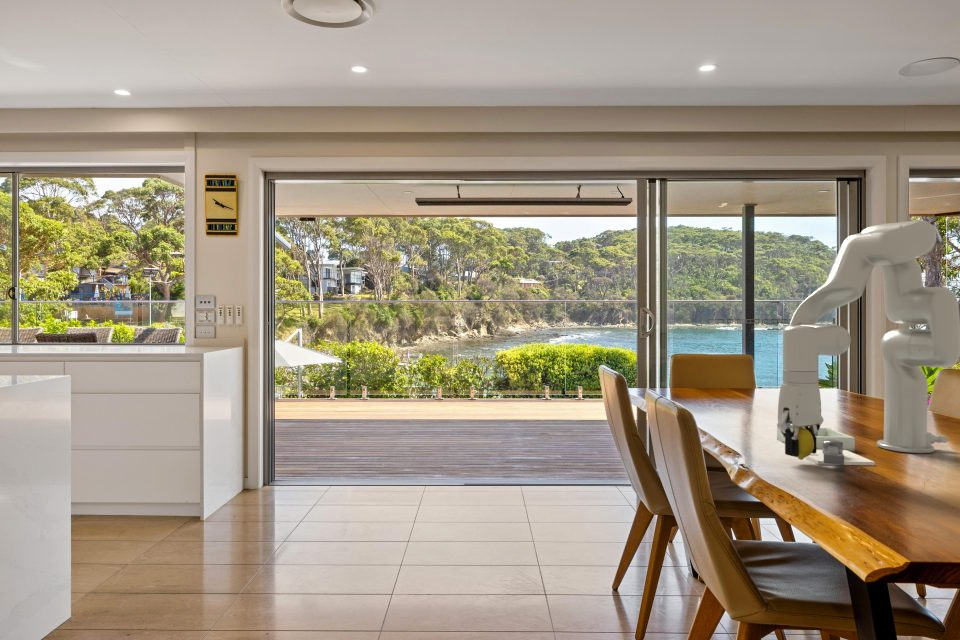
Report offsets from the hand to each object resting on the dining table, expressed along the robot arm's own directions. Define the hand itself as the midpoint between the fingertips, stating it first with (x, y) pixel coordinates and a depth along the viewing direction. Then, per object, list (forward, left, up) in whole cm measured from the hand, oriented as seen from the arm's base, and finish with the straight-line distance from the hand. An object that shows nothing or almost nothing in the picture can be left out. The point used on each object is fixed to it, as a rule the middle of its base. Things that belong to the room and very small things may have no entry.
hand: (800, 453), depth 150 cm
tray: (-13, -22, -2) cm, 26 cm away
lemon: (0, 0, -2) cm, 2 cm away
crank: (-8, 0, -1) cm, 8 cm away
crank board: (-10, -6, -2) cm, 12 cm away
